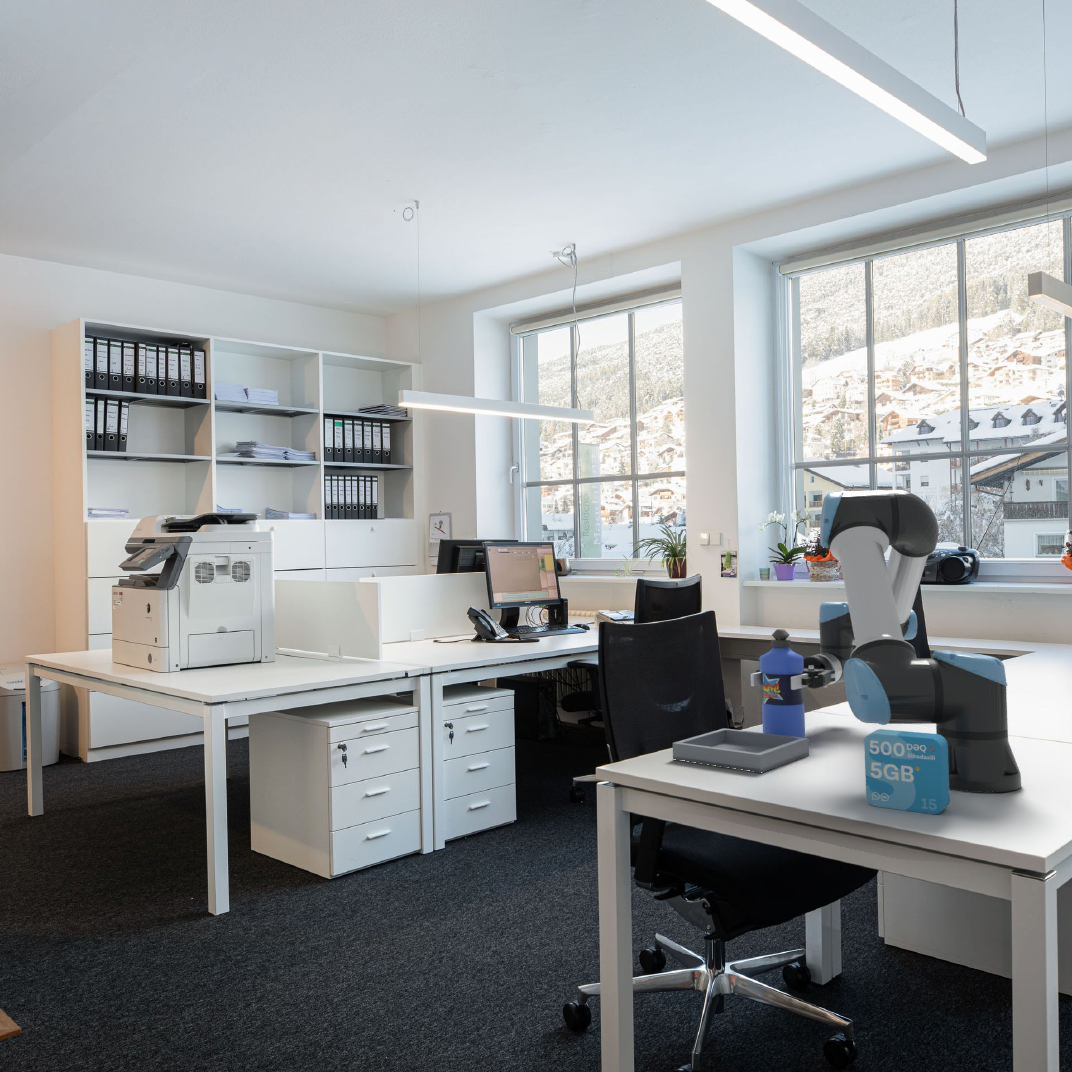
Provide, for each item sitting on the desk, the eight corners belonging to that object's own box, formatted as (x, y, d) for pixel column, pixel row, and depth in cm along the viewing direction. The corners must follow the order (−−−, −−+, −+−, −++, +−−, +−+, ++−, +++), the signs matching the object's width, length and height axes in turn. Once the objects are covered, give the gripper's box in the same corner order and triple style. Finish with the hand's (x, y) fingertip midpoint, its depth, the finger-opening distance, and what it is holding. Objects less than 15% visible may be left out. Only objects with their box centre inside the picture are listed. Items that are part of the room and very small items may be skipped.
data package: (866, 805, 152) (863, 732, 152) (874, 799, 156) (871, 728, 156) (943, 816, 145) (941, 739, 145) (950, 809, 149) (947, 734, 149)
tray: (760, 773, 176) (760, 755, 176) (673, 760, 190) (672, 743, 190) (808, 755, 191) (808, 738, 191) (724, 744, 204) (723, 728, 205)
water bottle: (783, 749, 198) (779, 632, 198) (753, 742, 206) (749, 629, 206) (815, 744, 202) (811, 629, 203) (784, 737, 210) (781, 627, 211)
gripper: (864, 690, 210) (819, 703, 194) (777, 683, 225) (728, 695, 208) (863, 657, 210) (818, 667, 194) (776, 652, 225) (727, 661, 208)
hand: (772, 681), depth 201 cm, fingers closed on water bottle, 9 cm apart
